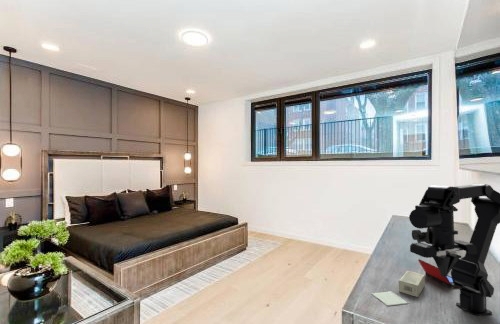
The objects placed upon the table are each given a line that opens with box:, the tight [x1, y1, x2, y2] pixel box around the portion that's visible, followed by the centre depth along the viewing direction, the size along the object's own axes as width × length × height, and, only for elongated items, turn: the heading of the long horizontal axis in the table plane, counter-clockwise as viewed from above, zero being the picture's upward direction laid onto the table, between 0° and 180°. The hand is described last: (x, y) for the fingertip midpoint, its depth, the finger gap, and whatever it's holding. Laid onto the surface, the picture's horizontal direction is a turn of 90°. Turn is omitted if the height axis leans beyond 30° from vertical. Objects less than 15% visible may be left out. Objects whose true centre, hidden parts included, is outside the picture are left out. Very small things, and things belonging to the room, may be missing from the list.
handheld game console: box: [418, 258, 460, 289], centre depth 101 cm, size 12×11×7 cm
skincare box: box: [398, 270, 426, 298], centre depth 94 cm, size 6×4×12 cm
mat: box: [371, 290, 409, 307], centre depth 87 cm, size 8×8×1 cm
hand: (443, 276), depth 77 cm, fingers closed
